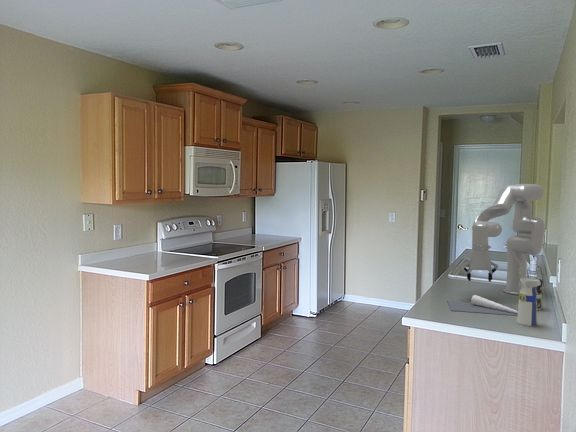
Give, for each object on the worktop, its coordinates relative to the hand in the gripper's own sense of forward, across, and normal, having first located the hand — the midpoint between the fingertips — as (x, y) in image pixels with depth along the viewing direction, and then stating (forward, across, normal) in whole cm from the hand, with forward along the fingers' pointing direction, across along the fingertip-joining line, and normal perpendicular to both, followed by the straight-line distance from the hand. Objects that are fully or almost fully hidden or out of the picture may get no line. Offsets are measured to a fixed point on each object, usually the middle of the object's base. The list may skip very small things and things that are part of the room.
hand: (479, 280), depth 234 cm
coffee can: (+11, -22, +6) cm, 25 cm away
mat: (+10, +1, +14) cm, 17 cm away
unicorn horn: (+10, -5, +14) cm, 18 cm away
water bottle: (+10, -14, +34) cm, 38 cm away
